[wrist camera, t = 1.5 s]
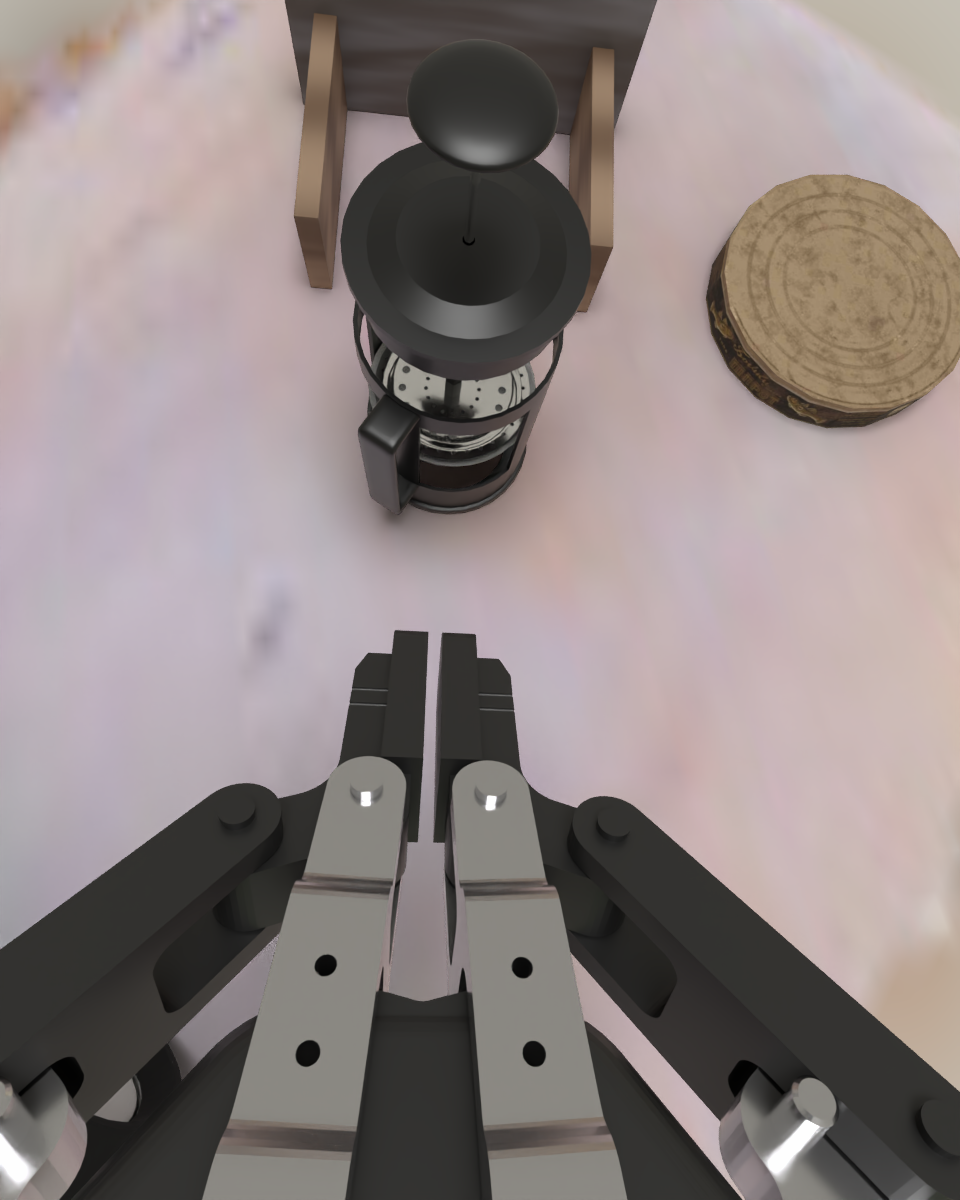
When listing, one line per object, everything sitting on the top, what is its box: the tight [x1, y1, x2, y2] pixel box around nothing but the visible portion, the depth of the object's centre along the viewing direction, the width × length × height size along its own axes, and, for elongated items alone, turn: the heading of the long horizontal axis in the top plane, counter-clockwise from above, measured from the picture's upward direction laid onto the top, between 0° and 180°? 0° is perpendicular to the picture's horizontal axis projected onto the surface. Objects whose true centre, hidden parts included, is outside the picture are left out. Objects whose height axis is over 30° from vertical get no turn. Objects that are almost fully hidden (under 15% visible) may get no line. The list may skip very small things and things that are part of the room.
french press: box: [340, 39, 591, 515], centre depth 30 cm, size 12×9×23 cm
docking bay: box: [285, 0, 657, 312], centre depth 39 cm, size 14×20×10 cm
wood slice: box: [706, 175, 960, 428], centre depth 44 cm, size 16×16×3 cm
